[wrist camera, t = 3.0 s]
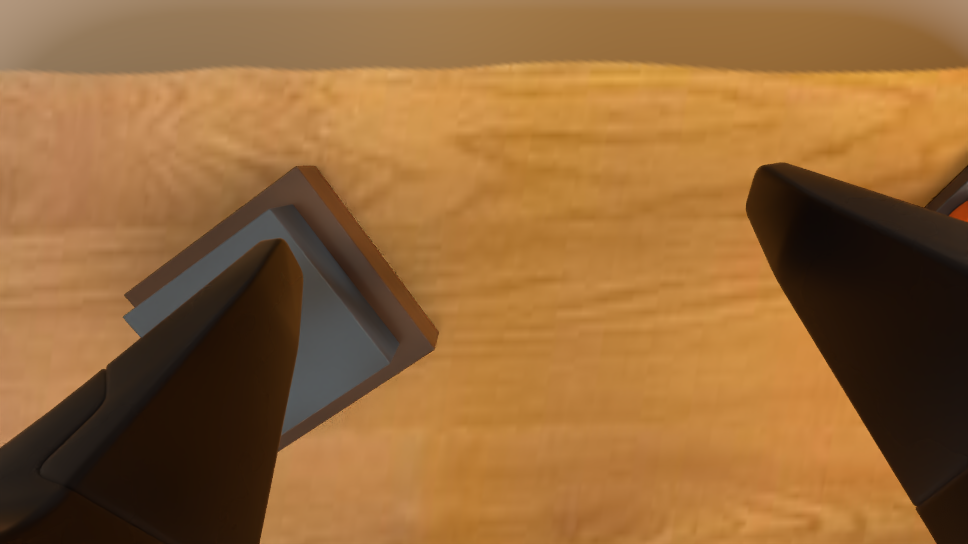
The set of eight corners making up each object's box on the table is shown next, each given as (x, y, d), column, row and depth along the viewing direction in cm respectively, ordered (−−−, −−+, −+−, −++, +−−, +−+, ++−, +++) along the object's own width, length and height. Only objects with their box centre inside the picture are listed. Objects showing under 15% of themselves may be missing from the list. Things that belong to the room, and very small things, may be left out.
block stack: (439, 332, 26) (429, 370, 21) (286, 432, 28) (244, 490, 23) (315, 165, 24) (272, 165, 19) (157, 282, 26) (80, 310, 21)
